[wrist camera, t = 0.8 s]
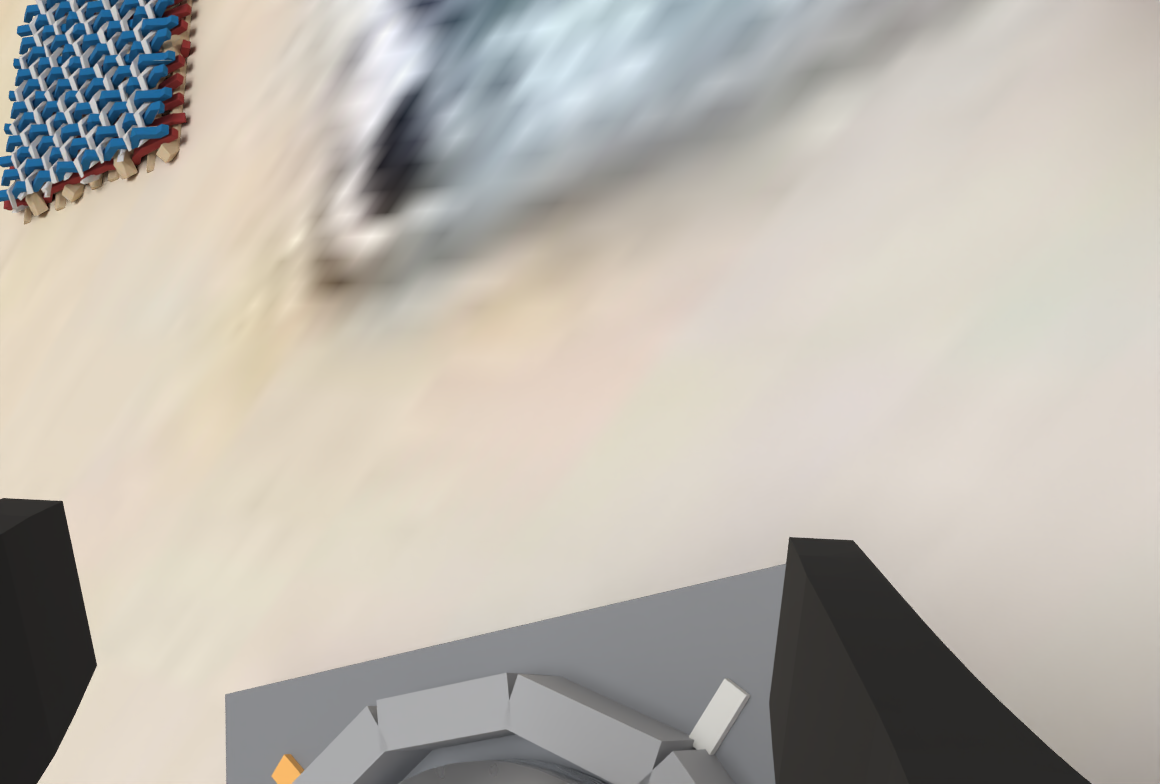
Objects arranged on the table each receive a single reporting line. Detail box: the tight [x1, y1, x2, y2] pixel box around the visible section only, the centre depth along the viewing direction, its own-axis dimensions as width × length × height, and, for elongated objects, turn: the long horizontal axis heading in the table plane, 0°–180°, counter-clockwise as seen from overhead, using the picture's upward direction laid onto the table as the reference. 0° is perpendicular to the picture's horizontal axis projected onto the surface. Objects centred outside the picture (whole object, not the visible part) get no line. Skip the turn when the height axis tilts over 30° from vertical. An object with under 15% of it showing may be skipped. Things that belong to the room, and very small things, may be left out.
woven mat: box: [0, 0, 192, 224], centre depth 45 cm, size 10×11×2 cm
